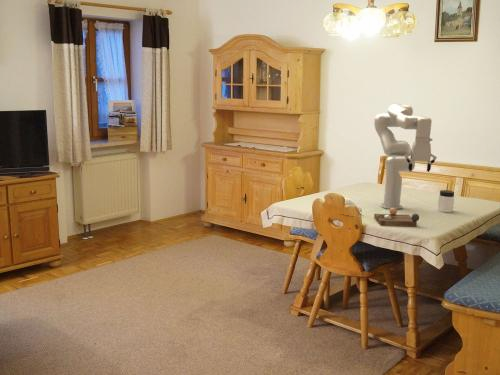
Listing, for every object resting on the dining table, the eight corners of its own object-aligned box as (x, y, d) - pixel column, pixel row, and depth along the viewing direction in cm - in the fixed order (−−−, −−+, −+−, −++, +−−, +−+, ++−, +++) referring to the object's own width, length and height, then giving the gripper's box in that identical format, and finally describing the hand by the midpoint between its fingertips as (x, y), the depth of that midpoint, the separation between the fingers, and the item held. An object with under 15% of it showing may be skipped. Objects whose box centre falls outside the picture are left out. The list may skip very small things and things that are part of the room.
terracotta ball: (388, 213, 314) (389, 206, 313) (395, 214, 314) (396, 207, 313) (390, 215, 310) (390, 208, 309) (397, 215, 310) (398, 208, 309)
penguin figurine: (343, 196, 325) (364, 200, 323) (340, 210, 327) (361, 214, 324) (341, 198, 319) (363, 202, 317) (339, 213, 321) (360, 217, 318)
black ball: (410, 220, 301) (410, 212, 301) (417, 220, 301) (418, 213, 301) (412, 222, 297) (413, 214, 297) (419, 222, 297) (420, 214, 297)
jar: (449, 213, 332) (451, 193, 330) (436, 211, 337) (437, 191, 334) (454, 210, 339) (456, 191, 337) (440, 208, 344) (442, 189, 341)
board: (374, 218, 314) (374, 213, 313) (408, 219, 314) (408, 214, 314) (380, 225, 298) (381, 220, 298) (416, 226, 298) (416, 222, 298)
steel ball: (381, 218, 308) (388, 215, 308) (385, 224, 306) (392, 221, 306) (382, 215, 304) (388, 212, 305) (386, 221, 303) (392, 218, 303)
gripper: (436, 140, 311) (433, 170, 315) (404, 138, 312) (401, 169, 315) (440, 141, 304) (436, 173, 307) (408, 140, 304) (404, 171, 308)
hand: (419, 171), depth 311 cm, fingers open, 9 cm apart
